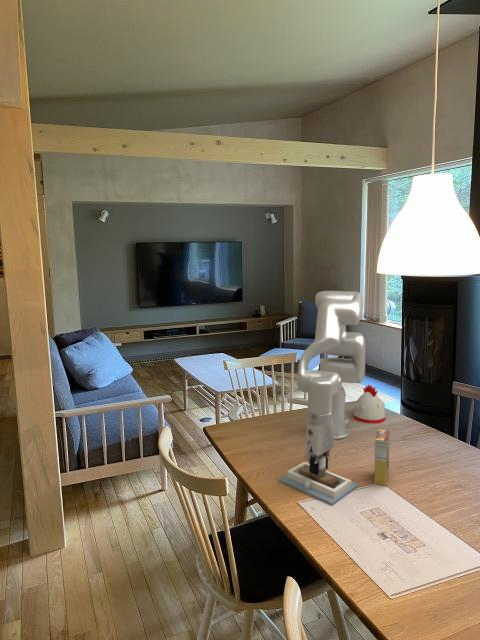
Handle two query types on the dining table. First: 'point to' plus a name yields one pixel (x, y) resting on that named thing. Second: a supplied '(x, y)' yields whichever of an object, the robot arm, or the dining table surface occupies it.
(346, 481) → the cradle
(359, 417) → the kitchen timer
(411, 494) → the dining table surface
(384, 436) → the candy box
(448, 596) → the dining table surface
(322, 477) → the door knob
